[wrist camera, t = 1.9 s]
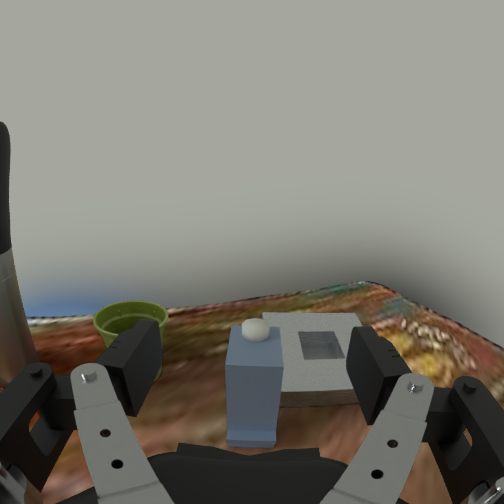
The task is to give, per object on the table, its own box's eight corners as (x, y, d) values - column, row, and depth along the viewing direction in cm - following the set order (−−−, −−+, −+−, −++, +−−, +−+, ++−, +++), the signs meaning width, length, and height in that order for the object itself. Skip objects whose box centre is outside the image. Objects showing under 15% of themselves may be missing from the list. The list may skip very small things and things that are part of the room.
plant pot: (154, 346, 41) (147, 294, 39) (188, 378, 35) (182, 320, 33) (98, 365, 35) (84, 310, 33) (123, 404, 28) (107, 343, 26)
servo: (273, 457, 23) (285, 366, 20) (227, 455, 23) (222, 364, 20) (271, 392, 32) (278, 304, 29) (234, 391, 32) (234, 303, 29)
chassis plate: (391, 399, 30) (397, 384, 29) (262, 406, 30) (263, 391, 30) (352, 325, 49) (354, 312, 49) (262, 325, 50) (262, 312, 49)
